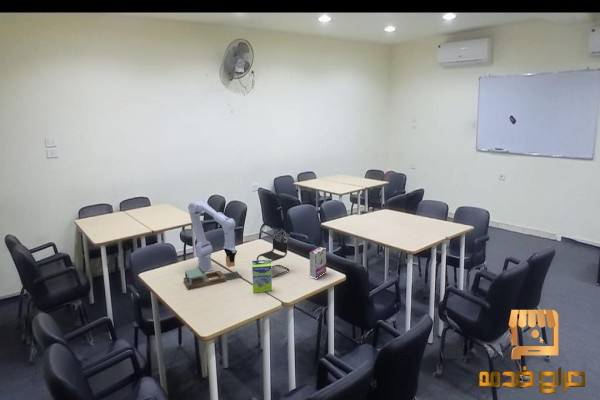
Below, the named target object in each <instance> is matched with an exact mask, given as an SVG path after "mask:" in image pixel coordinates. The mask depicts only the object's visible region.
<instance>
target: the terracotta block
mask: <svg viewBox="0 0 600 400" xmlns="http://www.w3.org/2000/svg"><path fill="white" fill-rule="evenodd" d="M235 259H236V258H235ZM235 259H234V262H230V259H229V256H226V255H225V266H227V268H232V267H235V266H236V264H235V263H236V262H235Z"/></svg>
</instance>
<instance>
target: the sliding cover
mask: <svg viewBox="0 0 600 400" xmlns="http://www.w3.org/2000/svg"><path fill="white" fill-rule="evenodd" d="M198 267H199V268H197V267H196V268H191V269H186V270H184V278H187V277H188V278H189V282H190V285H192V282H191V279H193V278H198V277H203V276H204V282H206V276H205V271H204V269H203V268H202V266H201V265H199V264H198Z"/></svg>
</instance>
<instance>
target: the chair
mask: <svg viewBox="0 0 600 400" xmlns="http://www.w3.org/2000/svg"><path fill="white" fill-rule="evenodd" d="M276 236H279V237H283V238H285V242H281V241H278V240H276V239H275V237H276ZM290 239H291V237H290V236H287V235H285V234H281V233H279V232H278V233H274V234H273V235H272V249H271V250H270V251H266V252H263V253H261V254H260V253H259V255H258V256H257V257H256V261H258V260H259V259H260V257H263V258H265V259H266V260H270V263H271V264H272V263H273V262H275V261H278V260H281V259H284V258H285V257H286V256H287V255H288V241H289V240H290ZM275 250H276V251H278V252H281V253H284V254H278V253H276V252H274V251H275ZM274 266H282V267H284V268H286V269H288V270H286V269H285V270H284V271H282V272H280V273H277V274H274V275H272V277H274V276H277V275H279V274H282V273H284V272H287V271H289V272H290V269H289V268H288V267H285V266H284V265H280V264H275V265H271V267H274ZM274 268H275V267H274ZM284 268H283V269H284ZM287 273H288V272H287ZM284 274H285V273H284ZM282 275H283V274H282ZM279 276H280V275H279ZM277 277H278V276H277ZM274 278H275V277H274Z"/></svg>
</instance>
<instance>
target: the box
mask: <svg viewBox="0 0 600 400" xmlns="http://www.w3.org/2000/svg"><path fill="white" fill-rule="evenodd" d="M270 261H271V259H260V260H259V259H258V261H257V260H252V264H251V269H252V270H251V272H252V273H251V274H252V293H253V292H255V293H263V292H264V293H265V291H267V292H271V291H270V290H272V291H273V288H272V287H273V285H272V284H273V281H272V280H273V278H272V276H273V275H272V274H273V273H272V268H271V267H272V262H271V263H270Z"/></svg>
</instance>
